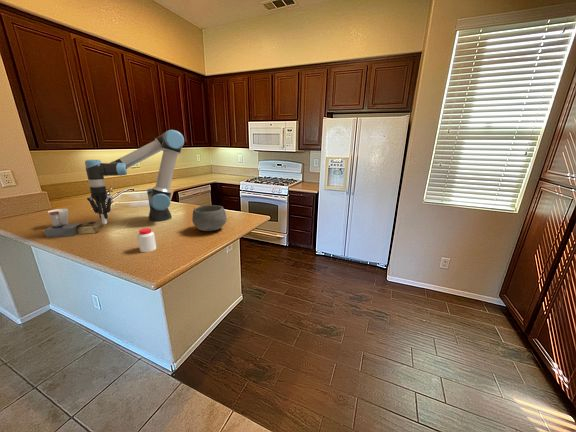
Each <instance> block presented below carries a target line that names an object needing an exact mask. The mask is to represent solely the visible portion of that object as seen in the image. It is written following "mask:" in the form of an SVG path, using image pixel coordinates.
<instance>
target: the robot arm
mask: <svg viewBox="0 0 576 432" xmlns="http://www.w3.org/2000/svg"><path fill="white" fill-rule="evenodd" d="M184 144H185V138H184V135H183V134H182V133H181V132H180V131H178V130H175V129H169V130H166V131H165V132H163V133H162V134H161V135H159V136H157V137H155V138H154V140H153V141H151V142H149V143H147V144H145V145H143V146H141V147H139V148H136V149H135V150H133V151H132V152H129V153H127V154H126V155H123V156H122V157H119V158H118V159H115V160H112V161H111V162H109V163H108V162H102V160H101V159H87V160H84V165H85V171H86V175H87V176H86V177H87V180H88V181H87V182H88V185H89V189H90V196H89V197H87V198H86V200H87V201H88V202H89V204H90V206H91V208H92V211H93V212H94V213H95V214H98V216H99V219H101V221H102V224H103V225H106V224H108V218H109V216H108V213H110V212H111V210H112V209H111V207H112V200H113V196H109V195H108V193H107V188H106V187H107V186H106V182H105V178H104V177H107V176H113V177H114V176H119V177H121V176H127V174H128V173H127V172H128V171H127V169H129V168H131V167H133V166H135V165H137V164H139V163H141V162H142V161H144V160H145V161H146V159H148V158H150V157H153V156H154V155H156V154H158V153H161V152H162V151H163V152H162V154H161V155H162V156H161V159H160V160H161V161H160V165H159V169H158V174H157V178H156V183H155V186H153V187H152V188H148V189H147V190H146V193H147V198H148V199H147V200H148V205H149V212H148V220H149V221H150V222H163V221H168V220H170V219H172V213H171V212H170V211H171V210H169V207H170V206H171V195H172V191H171V189H170V188H171V184H172V181H173V175H174V172H175V167H176V162H177V158H178V155H180V154H181V151H182V149H183V148H182V147H183V146H184Z"/></svg>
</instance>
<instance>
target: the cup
mask: <svg viewBox="0 0 576 432" xmlns="http://www.w3.org/2000/svg"><path fill="white" fill-rule="evenodd" d="M54 211H59V215H60V218H61V222H62V224H69V209H68V208H57V209H52V210H48V211H47V213H48V215H49V216H50V214H49V213H50V212H54Z"/></svg>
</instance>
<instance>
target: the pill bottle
mask: <svg viewBox="0 0 576 432" xmlns="http://www.w3.org/2000/svg"><path fill="white" fill-rule="evenodd" d="M136 236H137V242H138V248H139V252H140V253H149V252H153V251H155V250H156V249H157V242H156V236H155V232H154V231H152V228H150V227H145V228H141V229H139V230H138V234H137V235H136Z"/></svg>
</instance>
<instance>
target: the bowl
mask: <svg viewBox="0 0 576 432" xmlns="http://www.w3.org/2000/svg"><path fill="white" fill-rule="evenodd" d="M191 219H192V223H193V225H194V227H195V228H197V229H198V230H200V231H203V232H213V231H217V230H220V229H221V228H222V227H224V226H225V224H226V223H227V220H228V219H227V214H226V210H225V208H224V206H222V205H216V204H213V205H212V204H204V205H200V206H197V207H194V208H193V211H192V218H191Z"/></svg>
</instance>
